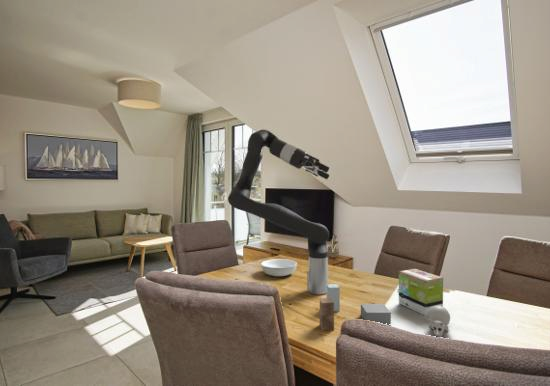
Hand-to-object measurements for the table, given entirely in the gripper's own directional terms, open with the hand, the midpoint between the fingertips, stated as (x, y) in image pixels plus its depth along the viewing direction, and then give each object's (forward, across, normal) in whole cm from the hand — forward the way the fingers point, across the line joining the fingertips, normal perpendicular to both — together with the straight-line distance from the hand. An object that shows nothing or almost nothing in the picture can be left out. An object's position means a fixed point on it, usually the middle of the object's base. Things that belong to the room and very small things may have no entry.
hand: (328, 173), depth 130 cm
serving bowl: (-7, -70, -47) cm, 85 cm away
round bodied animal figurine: (+62, -8, -31) cm, 69 cm away
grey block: (+42, -15, -39) cm, 60 cm away
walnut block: (+28, -6, -50) cm, 58 cm away
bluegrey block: (+27, -23, -45) cm, 57 cm away
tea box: (+58, -30, -25) cm, 70 cm away
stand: (+52, -50, -21) cm, 75 cm away
